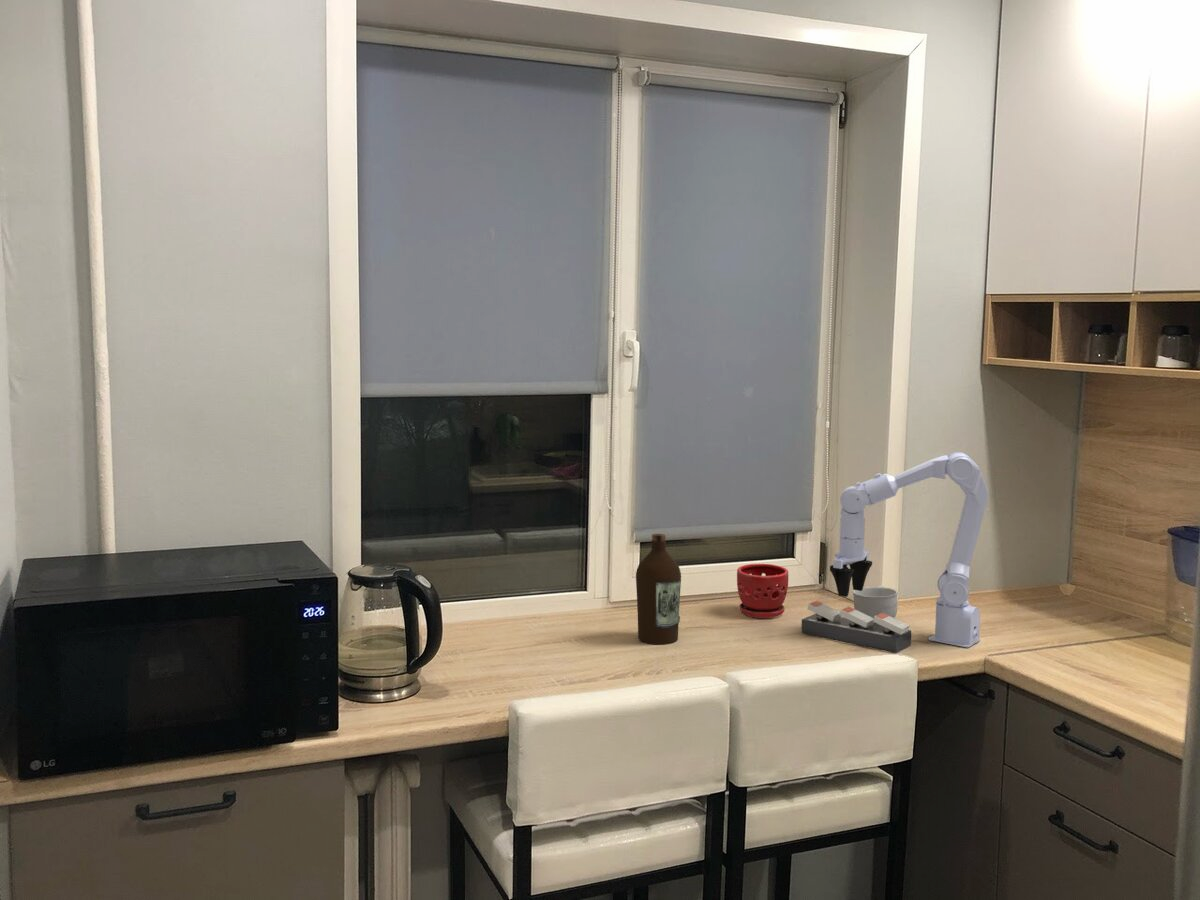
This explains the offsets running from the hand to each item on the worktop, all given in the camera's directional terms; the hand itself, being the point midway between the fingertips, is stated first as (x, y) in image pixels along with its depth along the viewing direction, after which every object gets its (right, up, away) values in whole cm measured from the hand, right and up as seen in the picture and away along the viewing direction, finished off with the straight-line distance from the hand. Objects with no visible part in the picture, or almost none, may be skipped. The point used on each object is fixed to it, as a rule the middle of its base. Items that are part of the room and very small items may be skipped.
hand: (850, 593), depth 243 cm
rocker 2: (0, -6, -4) cm, 8 cm away
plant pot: (-18, -8, +18) cm, 27 cm away
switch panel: (0, -10, -4) cm, 11 cm away
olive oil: (-46, -11, -4) cm, 48 cm away
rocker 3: (+7, -7, -10) cm, 14 cm away
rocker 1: (-6, -6, +1) cm, 9 cm away
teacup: (+10, -9, +13) cm, 18 cm away
